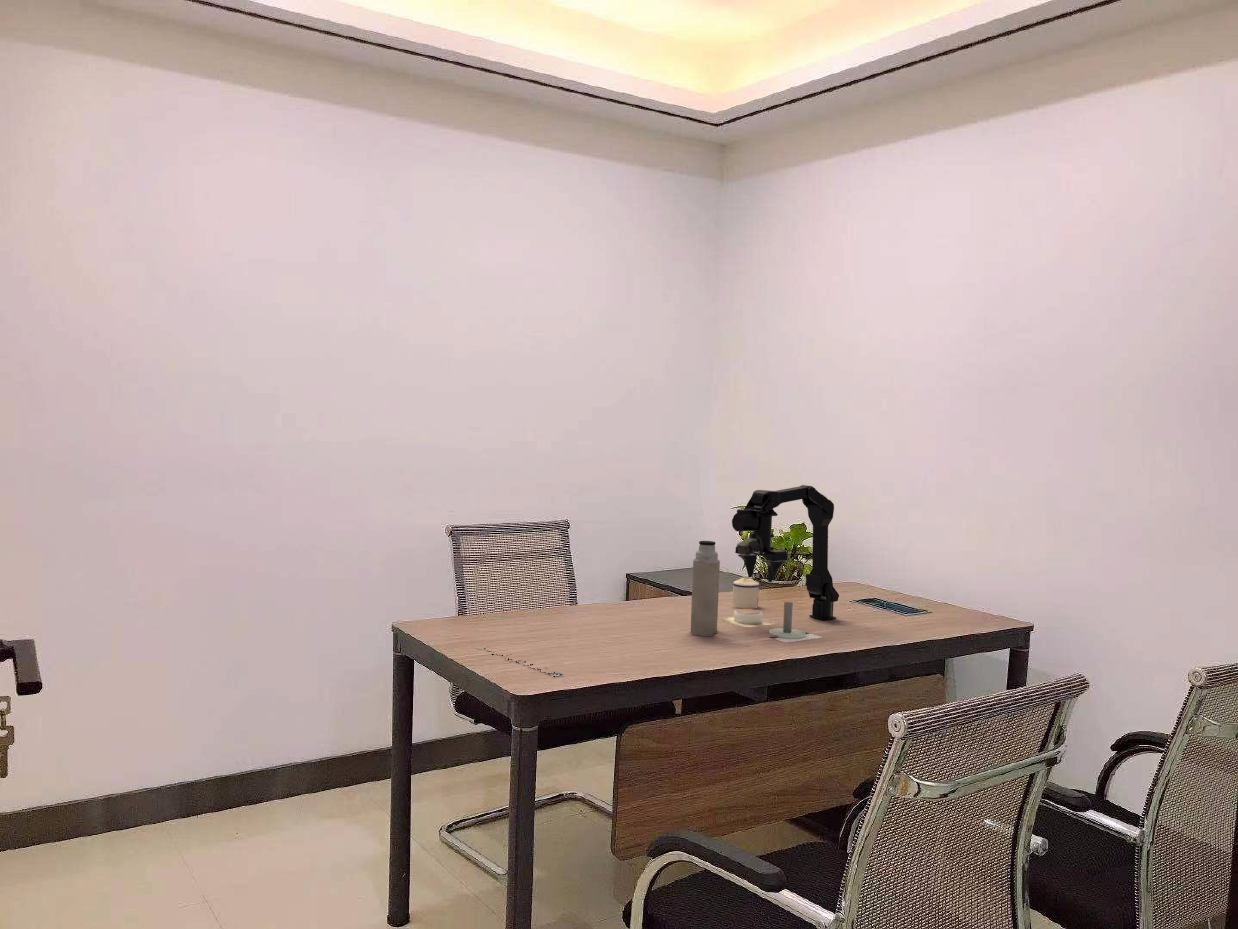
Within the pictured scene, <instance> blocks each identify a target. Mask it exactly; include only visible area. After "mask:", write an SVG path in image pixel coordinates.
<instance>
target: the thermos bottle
mask: <svg viewBox="0 0 1238 929" xmlns="http://www.w3.org/2000/svg"><path fill="white" fill-rule="evenodd" d="M698 544H699V546H698V550H697V551H696V552H695V555H694V556H695V558H693V562H692V580H691V582H692V587H691V614H690V633H691V635H694V634H695V635H694V636H699V637H712V636H714V635H716V634H717V632H718V619H719V618H718V613H719V612H718V611H719V592H720V590H719V589H720V588H719V587H720V567H721V564H720V563H721V562H720V561H721V560H719V559H718V556H719V554H718V552H717V551H716V541H712V540H700V541H698Z"/></svg>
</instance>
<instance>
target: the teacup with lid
mask: <svg viewBox="0 0 1238 929" xmlns="http://www.w3.org/2000/svg"><path fill="white" fill-rule="evenodd" d="M732 585H733V587H732V588H733V590H732V608H738V609H752V610H755V609H757V608H758V607H759V593H760V592H759V590H760V589H759V588H760V583H759V581H755V580H754V579H753V578H752V577H749V576H748V574H744V575H743V577H741V578H739V579H737V580H734V581H733V582H732Z"/></svg>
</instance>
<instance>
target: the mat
mask: <svg viewBox="0 0 1238 929" xmlns="http://www.w3.org/2000/svg"><path fill="white" fill-rule="evenodd" d="M804 632H805V631H804ZM805 633H806V636H805V637H804V638H799V639H785V638H778V637H774V636H769V637H768V638H770V639H773V640H777V641H780V642H783V643H793V642H799V641H808V640H815V639H821V638H823V637H822V636H820V635H816V634H812V633H808V632H805Z"/></svg>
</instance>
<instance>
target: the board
mask: <svg viewBox="0 0 1238 929" xmlns="http://www.w3.org/2000/svg"><path fill="white" fill-rule="evenodd" d="M718 620H719V621H722V622H726V623H728V624H732V625H735V626H738V627H742V628H745V629H747V628H755V627H756V628H757V627H762V626H764V627H765V626H771V625H772V626H773V625H780V622H779V623H778V622H776V621H772V620H768V619H765V618H762V623H760V624H742V623H737V622H735V621H734V616H732V617H724V618H723V617H722V618H718V619H717V621H718Z"/></svg>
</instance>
